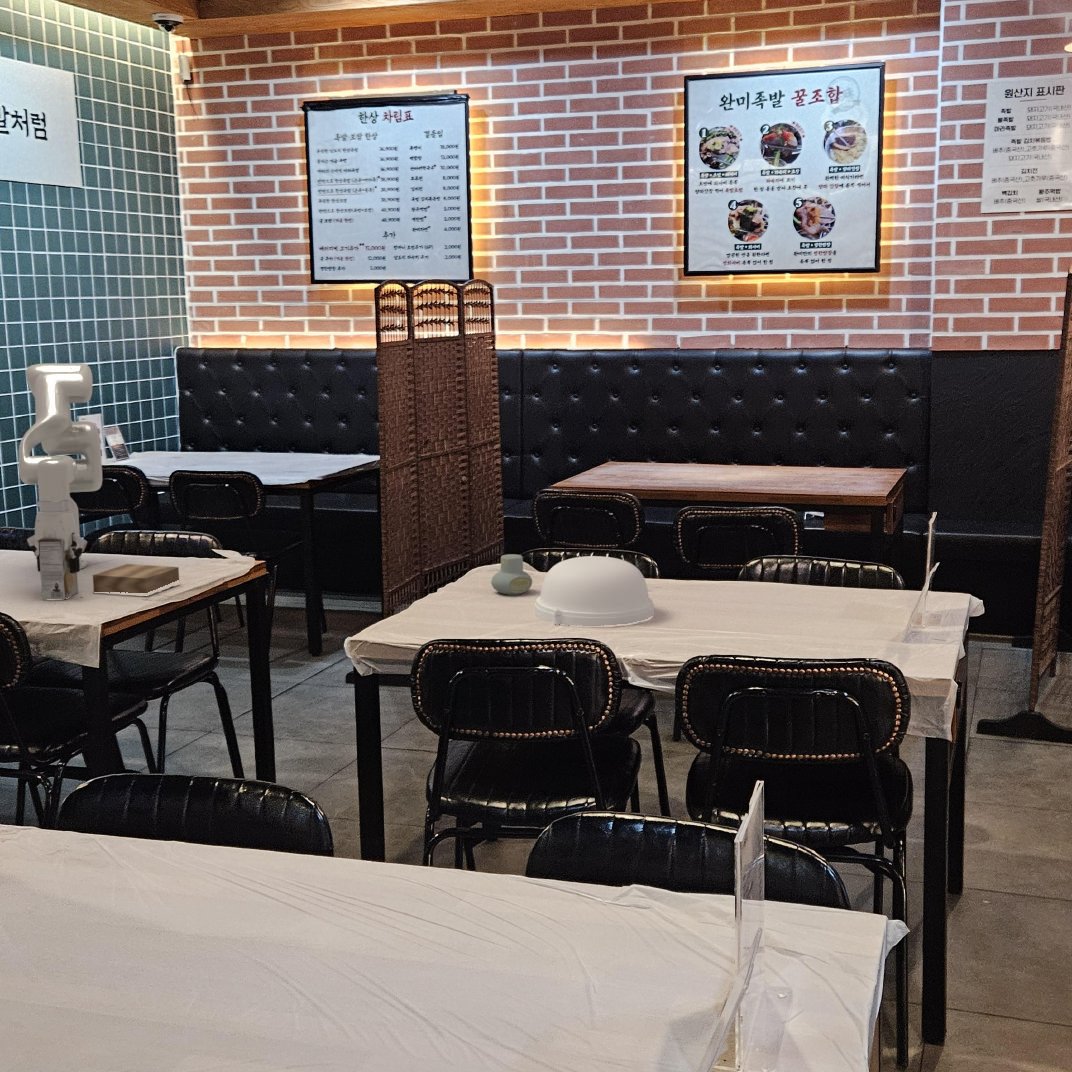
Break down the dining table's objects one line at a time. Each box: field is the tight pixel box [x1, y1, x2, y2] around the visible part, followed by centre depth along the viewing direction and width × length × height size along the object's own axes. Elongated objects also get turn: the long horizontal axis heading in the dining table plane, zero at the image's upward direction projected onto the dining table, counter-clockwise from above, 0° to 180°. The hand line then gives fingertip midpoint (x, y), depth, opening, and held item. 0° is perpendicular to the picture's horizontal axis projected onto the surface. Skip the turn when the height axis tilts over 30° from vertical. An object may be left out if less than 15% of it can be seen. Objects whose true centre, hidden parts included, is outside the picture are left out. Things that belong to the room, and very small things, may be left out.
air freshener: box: [490, 553, 533, 596], centre depth 352 cm, size 11×8×10 cm
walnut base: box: [92, 563, 180, 593], centre depth 356 cm, size 16×16×5 cm
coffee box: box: [38, 538, 79, 601], centre depth 345 cm, size 9×6×16 cm
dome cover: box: [533, 555, 655, 626], centre depth 329 cm, size 32×30×14 cm
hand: (58, 571), depth 345 cm, fingers open, 9 cm apart
